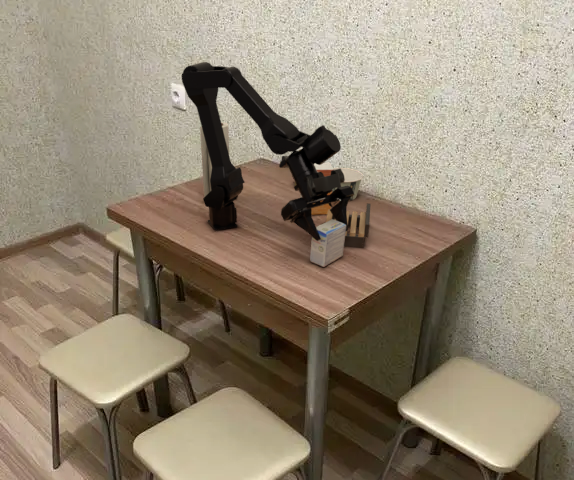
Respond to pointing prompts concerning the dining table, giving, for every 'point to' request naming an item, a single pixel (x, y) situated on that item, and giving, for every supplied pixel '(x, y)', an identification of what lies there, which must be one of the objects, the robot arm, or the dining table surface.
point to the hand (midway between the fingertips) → (332, 235)
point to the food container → (351, 180)
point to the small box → (323, 209)
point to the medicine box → (328, 243)
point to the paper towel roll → (206, 159)
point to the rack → (353, 222)
